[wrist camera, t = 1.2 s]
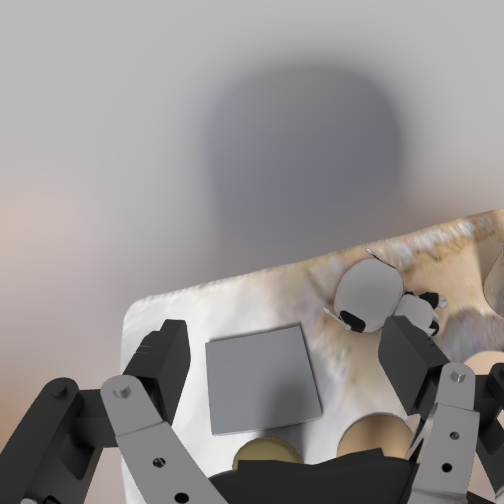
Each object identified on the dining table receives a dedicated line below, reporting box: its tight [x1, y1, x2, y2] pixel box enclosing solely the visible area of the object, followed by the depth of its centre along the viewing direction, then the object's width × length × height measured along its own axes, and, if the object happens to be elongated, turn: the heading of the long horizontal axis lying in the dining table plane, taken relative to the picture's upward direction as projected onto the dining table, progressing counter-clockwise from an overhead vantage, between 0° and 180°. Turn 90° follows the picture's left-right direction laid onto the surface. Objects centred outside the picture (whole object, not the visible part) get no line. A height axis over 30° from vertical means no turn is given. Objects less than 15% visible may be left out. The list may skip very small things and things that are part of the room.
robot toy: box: [323, 248, 447, 337], centre depth 34 cm, size 12×4×15 cm
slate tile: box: [205, 326, 322, 436], centre depth 31 cm, size 12×12×1 cm
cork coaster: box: [337, 415, 413, 459], centre depth 23 cm, size 9×9×1 cm
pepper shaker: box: [232, 437, 303, 470], centre depth 20 cm, size 6×6×11 cm
